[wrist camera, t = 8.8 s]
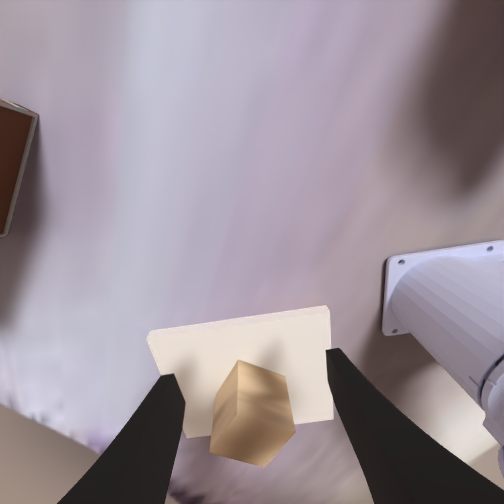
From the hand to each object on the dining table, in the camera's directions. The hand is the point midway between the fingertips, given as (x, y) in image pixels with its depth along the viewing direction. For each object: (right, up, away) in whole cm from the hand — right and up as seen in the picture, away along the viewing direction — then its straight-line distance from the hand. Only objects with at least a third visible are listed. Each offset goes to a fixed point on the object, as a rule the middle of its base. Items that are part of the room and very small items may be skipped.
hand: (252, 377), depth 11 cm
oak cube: (0, -7, +12) cm, 14 cm away
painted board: (0, -6, +13) cm, 14 cm away
